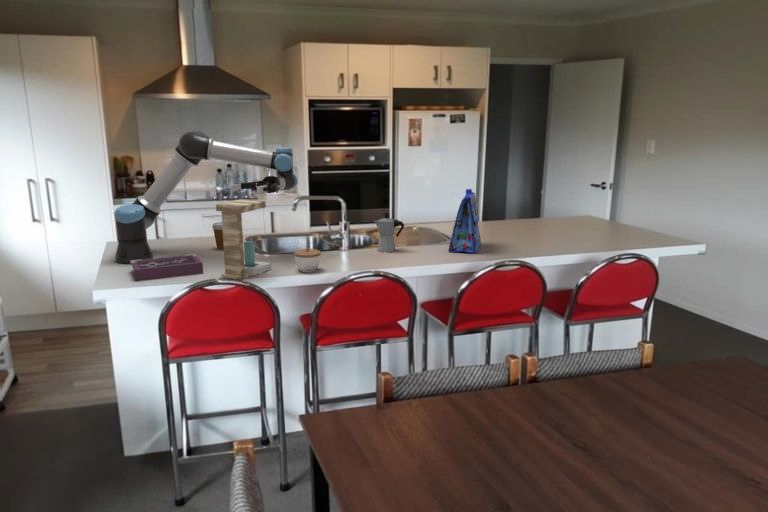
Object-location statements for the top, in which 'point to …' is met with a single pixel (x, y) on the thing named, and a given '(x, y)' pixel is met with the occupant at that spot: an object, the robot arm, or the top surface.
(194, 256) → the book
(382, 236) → the coffee maker
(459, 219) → the lunch bag
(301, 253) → the lidded jar
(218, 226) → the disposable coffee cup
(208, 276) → the top surface
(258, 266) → the socket
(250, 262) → the peg
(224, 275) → the wooden pedestal
